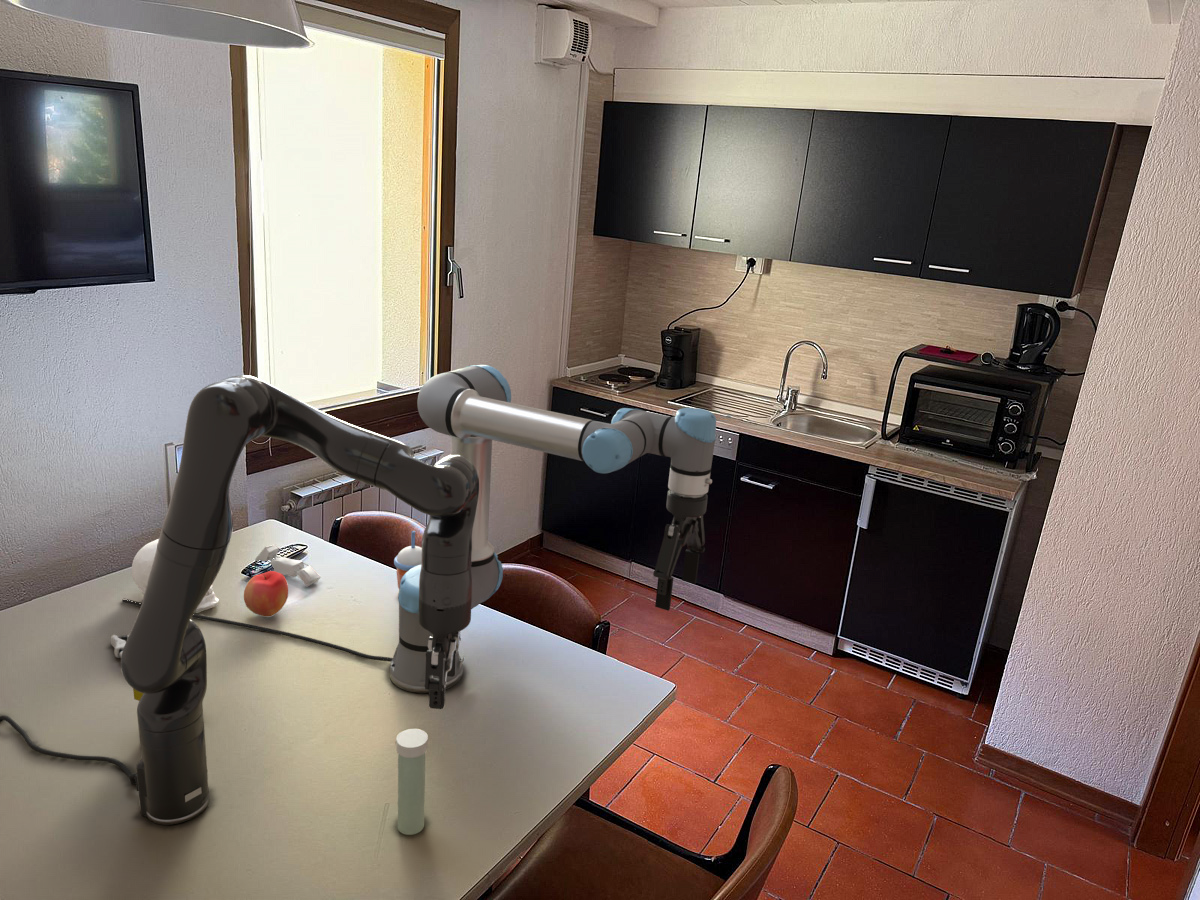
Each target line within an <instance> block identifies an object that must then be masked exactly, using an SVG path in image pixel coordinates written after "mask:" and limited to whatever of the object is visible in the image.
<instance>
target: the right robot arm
mask: <svg viewBox="0 0 1200 900" xmlns="http://www.w3.org/2000/svg"><path fill="white" fill-rule="evenodd" d="M416 402H417V403H416V404H417V411H418V415H419V417H420V418H421V420H422V422H423V423H424V425H426V426H427V427H428V428H430V429H431V430H433V431H435V432H437V433H439V434H443V435H446V436H449V437H450V455H459V456H462V457H465V458H466V459H468V460H469V461H470V462H471V463H472V464H473V465H474V467H475V468H476V470H477V473H478V477H479V495H478V502H477V508H476V514H475V519H474V524H473V529H472V557H471V571H472V602H471V610H472V609H474V608H476V607H477V606H479V605H480V604H482V603H484V602H486V601H487V600H489V599H490V598H491V597H492V596H493V595H494V594H495V593H496V592H497V591H498V590H499V588H500V586H501V585H502V581H503V578H504V569H503V564H502V561H501V560H499V559H498V558H499V556H498V555H497V554H498V553H496V551H495V547H494V545H492V544H491V542H489V524H490V523H489V522H490V497H491V479H492V478H491V477H492V452H493V451H492V450H493V441H494V442H499V443H503V444H507V445H512V446H517V447H521V448H524V449H529V450H534V451H538V452H542V453H546V454H551V455H555V456H558V457H559V456H560V457H563V458H567V459H572V460H576V461H581V462H585V464H586V465H587V467H589V468H590V469H591V470H592V471H593V472H595V473H598V474H609V473H612V472H617V471H619V470H621V469H623V468H624V467H626V466H627V465H628V464H630V463H632V462H634V461H635V460H637V459H639V458H641V457H642V456H644V455H646V454H652V455H657V456H660V457H666V458H667V457H668V458H670V467H669V473H668V474H669V476H668V483H667V488H668V490H667V495H666V504H665V505H666V506H665V508H666V510H667V511H668V512H669V513H671V514H672V515H673V518H672V520H671V522H670V524H669V523H666V524H665V527H664V533H663V539H662V541H661V546H660V550H659V553H658V555H657V560H656V564H655V567H654V570H653V577H654V578H657V584H656V594H655V604H654V607H655V608H659V609H661V610H665V611H670V610H671V603H672V595H673V587H674V586H673V585H674V576H673V574H674V571H675V568H676V565H677V562H678V559H679V557H680V554H681V551H682V548H684V547H685V546H686V547H687V549H686V550H685V551H684V552H685V553H684V559H683V560H684V562H683V569H682V570H683V571H682V579H681V582H686V583H690V584H693V585H695V584H696V583H697V578H698V570H699V563H700V554H701V553H704V552H705V550H706V547H705V546H704V545H705V543H706V538H705V526H704V525H705V524H704V515H705V514H706V513H707V508H708V507H707V506H708V498H709V496H708V493H709V488H710V485H712V483H713V479H711V472H712V465H713V464H712V463H713V458H714V451H715V443H716V440H717V436H716V433H717V432H716V431H717V417H716V415H715V414H714V413H713V412H712V411H710V410H707V409H703V408H699V407H697V408H696V407H695V408H694V407H682V408H679V409H677V411H676V413H675V415H674V416H670V415H666V414H661V413H657V412H656V413H655V412H650V411H647V410H643V409H640V408H628V407H622V408H619V409H618V410H617V411H616V413H615V414H614V415H613V416H612V419H611V422H610V423H609V422H604V421H603V422H602V421H597V420H593V419H589V418H585V417H580V416H574V415H570V414H565V413H561V412H556V411H551V410H546V409H542V408H538V407H533V406H527V405H523V404H518V403H515V402H512V391H511V387H510V384H509V382H508V380H507V378H506V377H504V375H503V373H502V372H501V371H500V370H499V369H497V368H495V367H494V366H491V365H488V364H477V365H472V364H471V365H467V366H465V367H463V368H457V369H455V370H450V371H446V372H442V373H439V374H435V375H433V376H432V377H430V378H429V379H428V380H427V381H426V382H425V383H423V385H422V386H421V388H420V389H419V392H418V395H417V401H416ZM420 572H421V565H418V566H416V567H413V568H412V569H410V570H409V571H407V572H406V573H405V574H404V576H403V577H402V579H401V582H400V590H399V589H398V593H397V594H398V595H397V597H398V643H397V645H396V648H395V651H394V653H393V656H392V657H389V656H381V655H371V654H366V653H362V652H360V651H356V650H354V649H352V648H351V649H350V648H348V647H344V646H341V645H338V644H335V643H332V642H331V643H330V642H328V641H323V640H320V639H316V638H312V637H309V636H304V635H300V634H297V633H292V632H287V631H283V630H279V629H275V628H271V627H270V628H269V627H265V626H260V625H255V624H250V623H246V622H239V621H235V620H228V619H225V618H218V617H213V616H208V615H202V614H197V613H194V615H193V616H192V618H193V619H198V620H204V621H210V622H215V623H219V624H226V625H231V626H235V627H241V628H247V629H251V630H257V631H261V632H266V633H271V634H275V635H280V636H284V637H289V638H292V639H297V640H300V641H304V642H307V643H312V644H316V645H319V646H324V647H327V648H330V649H333V650H338V651H340V652H344V653H348V654H350V655H353V656H356V657H359V658H362V659H366V660H372V661H381V662H390V665H389V679H390V681H391V682H392V683H393V684H394V685H395V686H396V687H398V688H399V689H401V690H404V691H407V692H410V693H416V694H429V690H425V687H424V686H425V673H426V653H427V650H429V648H428V640H429V637H432V633H430V632H429V631H427V630H425V629H424V628H422V627H421V625H420V624H419V620H418V616H419V578H420ZM126 599H127V600H128V601H127V600H123V599H121V600H122V601H121V602H122V603H125V604H129V605H133V606H137V607H141V605H142V602H140V601H136V600H132V599H129V598H126ZM129 600H130V601H129ZM131 601H133V602H131ZM135 602H136V603H135ZM139 603H141V604H139ZM464 661H465V656H462V657H461V656H460V653H459V650H458V651H457V653H456V673H455V675H454V676H453V677H450V676H447V679H446V682H447V684H446V687H445V690H447V689H450V688H451V687H453V686H455V685H456V684H457V683H458V682H459V681H460V680H461V679H462V676H463V672H464V664H463V663H464ZM433 678H438V679H439V677H438V676H433Z"/></svg>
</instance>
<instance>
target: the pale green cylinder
mask: <svg viewBox="0 0 1200 900" xmlns="http://www.w3.org/2000/svg"><path fill="white" fill-rule="evenodd" d="M426 753H427V751H426V752H425V753H424V754H422V755H421V756H418V757H414V758H407V757H403V756H401V755H399V754H398V753H397V762H398V763H397V830H398V831H399V832H400V833H401V834H403V835H406V836H412V835H416V834H418V833H421V832H422V830H424V827H425V801H426V799H425V797H426V794H425V793H426Z"/></svg>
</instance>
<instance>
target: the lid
mask: <svg viewBox="0 0 1200 900" xmlns="http://www.w3.org/2000/svg"><path fill="white" fill-rule="evenodd" d="M395 740H396V741H395V750H396V752H397V755H398V754H399V755H401V756H403V757H407V758H414V757H418V756H421V755H422V754H424V753H425V752H426V753H427V751H428V748H429V745H428V744H429V736H428V734H427V732H426V731H424V730H423V729H419V728H408V729H404V730H402V731H400V732H399V733H398V734H397V735H396V739H395ZM426 753H425V754H426Z"/></svg>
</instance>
